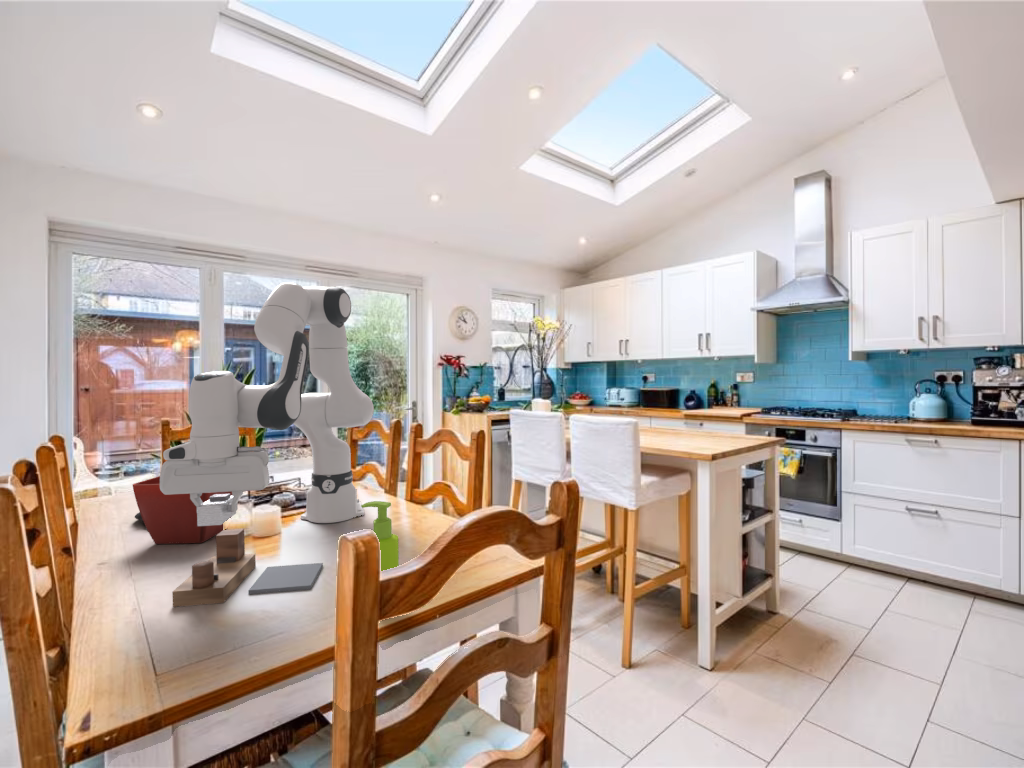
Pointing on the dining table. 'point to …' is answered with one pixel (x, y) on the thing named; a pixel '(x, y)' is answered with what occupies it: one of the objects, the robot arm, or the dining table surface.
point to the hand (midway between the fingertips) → (217, 512)
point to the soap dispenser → (385, 535)
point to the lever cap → (214, 510)
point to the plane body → (217, 572)
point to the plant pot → (172, 514)
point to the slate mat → (286, 578)
